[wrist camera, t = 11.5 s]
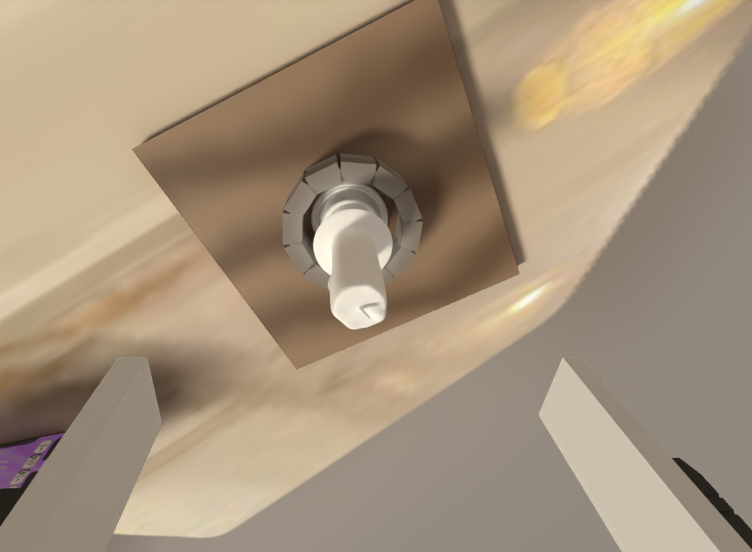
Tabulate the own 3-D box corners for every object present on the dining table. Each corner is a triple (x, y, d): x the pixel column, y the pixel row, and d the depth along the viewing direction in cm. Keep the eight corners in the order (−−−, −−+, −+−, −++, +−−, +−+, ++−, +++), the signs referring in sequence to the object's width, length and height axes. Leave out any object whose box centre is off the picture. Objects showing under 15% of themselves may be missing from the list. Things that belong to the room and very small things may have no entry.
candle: (401, 203, 27) (446, 291, 17) (364, 264, 29) (382, 377, 19) (333, 166, 25) (334, 237, 15) (298, 233, 27) (277, 338, 17)
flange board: (139, 146, 25) (111, 157, 21) (431, -8, 22) (447, -20, 19) (297, 361, 34) (294, 390, 31) (514, 268, 32) (534, 289, 29)
